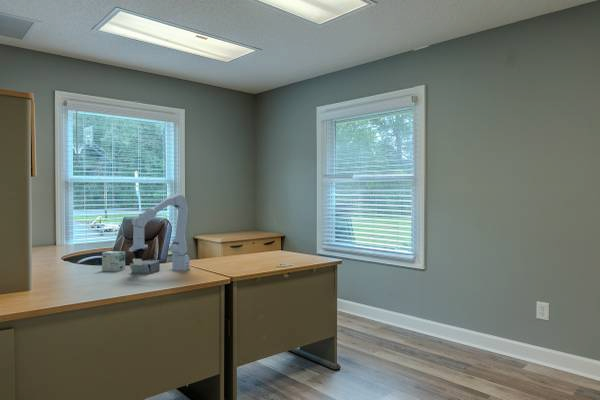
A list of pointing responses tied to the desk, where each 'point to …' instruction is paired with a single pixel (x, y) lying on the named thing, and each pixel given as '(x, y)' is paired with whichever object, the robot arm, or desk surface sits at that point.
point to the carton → (152, 266)
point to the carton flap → (139, 267)
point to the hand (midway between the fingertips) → (138, 262)
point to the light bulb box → (113, 261)
